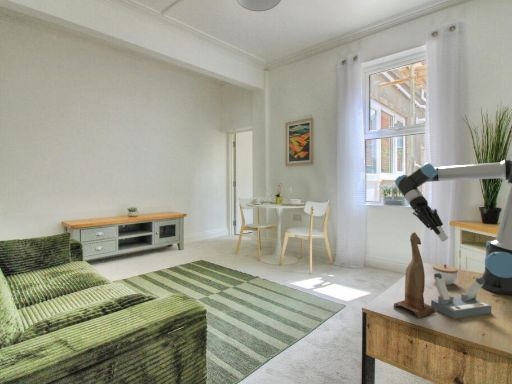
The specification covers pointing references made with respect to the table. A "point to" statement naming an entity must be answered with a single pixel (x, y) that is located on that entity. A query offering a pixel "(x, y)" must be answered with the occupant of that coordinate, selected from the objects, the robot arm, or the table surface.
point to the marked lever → (475, 288)
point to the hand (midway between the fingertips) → (445, 239)
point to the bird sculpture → (415, 283)
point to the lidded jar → (446, 273)
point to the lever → (441, 287)
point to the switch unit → (461, 306)
